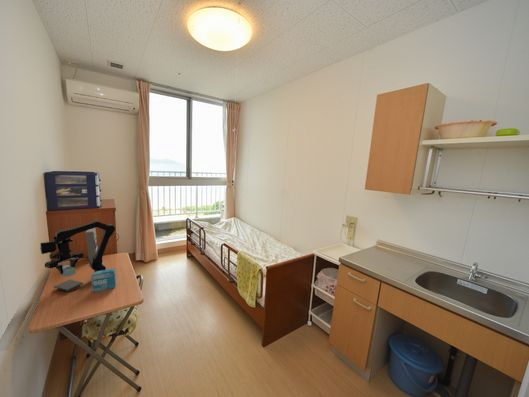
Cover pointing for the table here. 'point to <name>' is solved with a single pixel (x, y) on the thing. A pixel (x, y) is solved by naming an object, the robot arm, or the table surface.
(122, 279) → the table surface
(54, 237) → the robot arm
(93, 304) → the table surface
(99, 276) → the data package
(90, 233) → the cassette tape recorder
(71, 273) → the housing
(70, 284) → the stand
